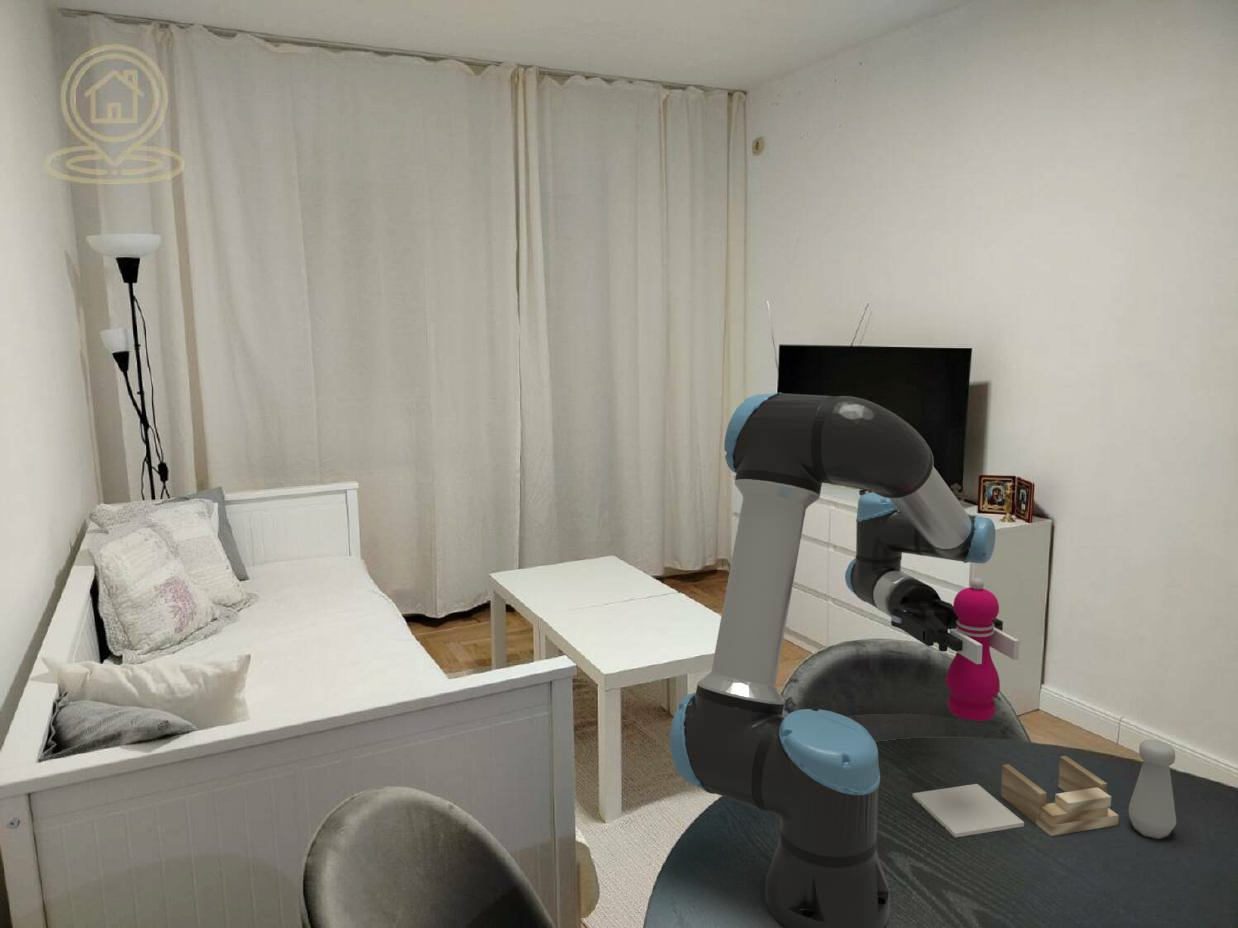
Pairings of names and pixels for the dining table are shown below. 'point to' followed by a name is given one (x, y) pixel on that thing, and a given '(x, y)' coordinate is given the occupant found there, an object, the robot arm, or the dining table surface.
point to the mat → (967, 810)
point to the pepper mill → (965, 677)
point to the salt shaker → (1154, 791)
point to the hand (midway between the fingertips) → (997, 652)
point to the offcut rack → (1061, 799)
